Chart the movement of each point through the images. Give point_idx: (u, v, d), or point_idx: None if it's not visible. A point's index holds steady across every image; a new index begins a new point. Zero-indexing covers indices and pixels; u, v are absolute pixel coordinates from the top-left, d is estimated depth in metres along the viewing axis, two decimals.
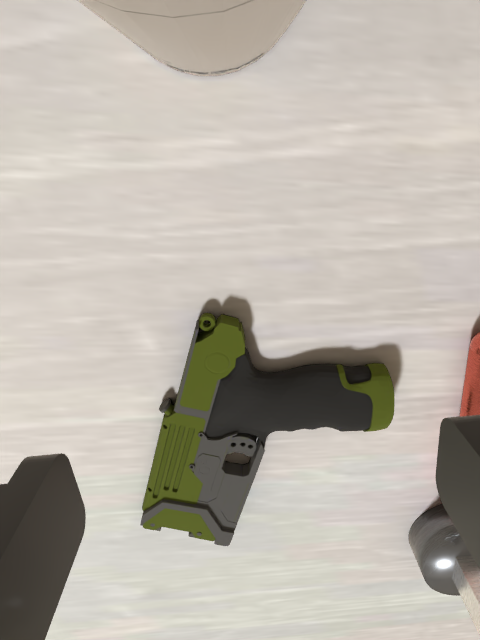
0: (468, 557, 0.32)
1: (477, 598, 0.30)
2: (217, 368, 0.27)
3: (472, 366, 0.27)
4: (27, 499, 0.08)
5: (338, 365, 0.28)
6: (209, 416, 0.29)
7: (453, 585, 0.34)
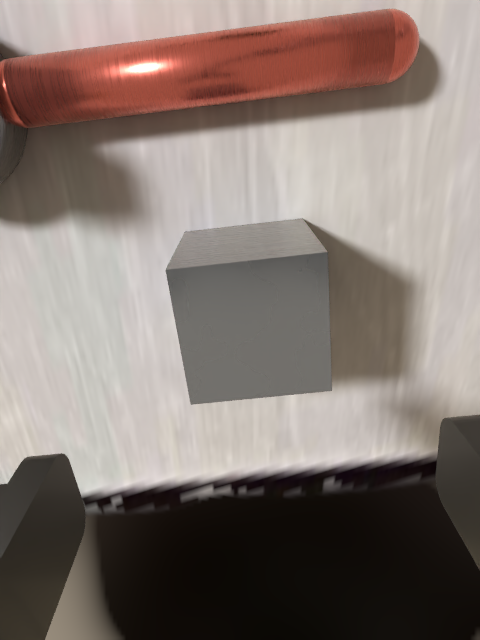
0: None
1: None
2: None
3: (359, 13, 0.16)
4: (27, 499, 0.08)
5: None
6: None
7: None
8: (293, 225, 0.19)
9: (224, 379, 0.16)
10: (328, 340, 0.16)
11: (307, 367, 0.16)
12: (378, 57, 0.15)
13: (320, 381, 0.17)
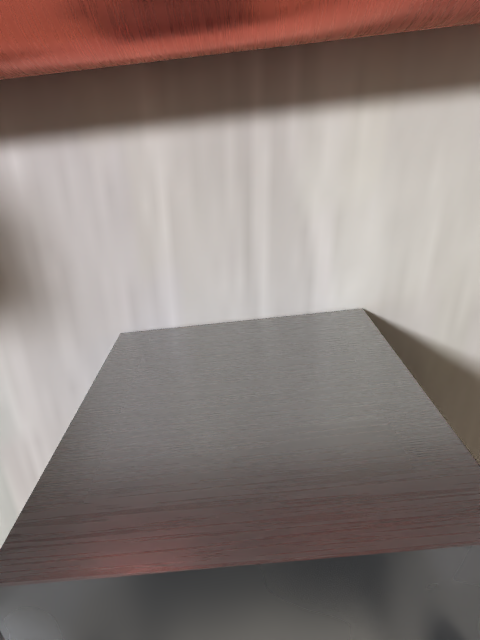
0: None
1: None
2: None
3: None
4: None
5: None
6: None
7: None
8: (351, 335, 0.09)
9: None
10: None
11: None
12: None
13: None
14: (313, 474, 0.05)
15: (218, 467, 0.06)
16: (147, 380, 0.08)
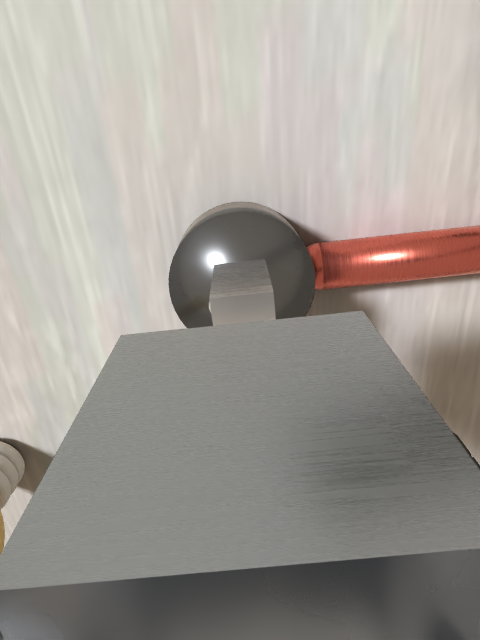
0: None
1: (270, 281, 0.17)
2: None
3: None
4: None
5: None
6: None
7: (193, 270, 0.20)
8: (351, 338, 0.09)
9: None
10: None
11: None
12: None
13: None
14: (314, 477, 0.05)
15: (219, 470, 0.06)
16: (148, 382, 0.08)
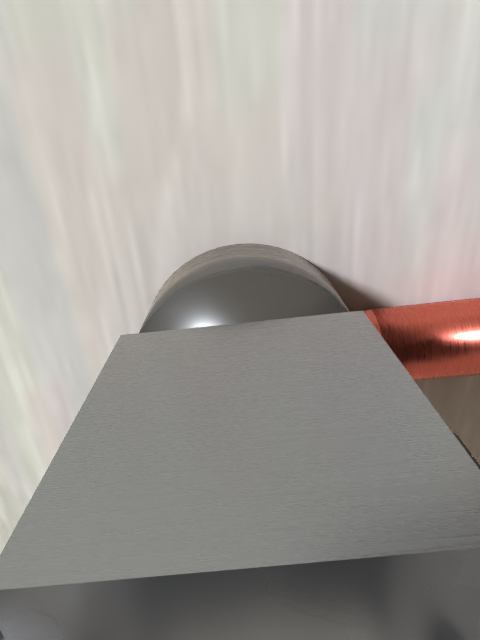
0: None
1: None
2: None
3: None
4: None
5: None
6: None
7: None
8: (351, 338, 0.09)
9: None
10: None
11: None
12: None
13: None
14: (313, 477, 0.05)
15: (219, 470, 0.06)
16: (148, 382, 0.08)
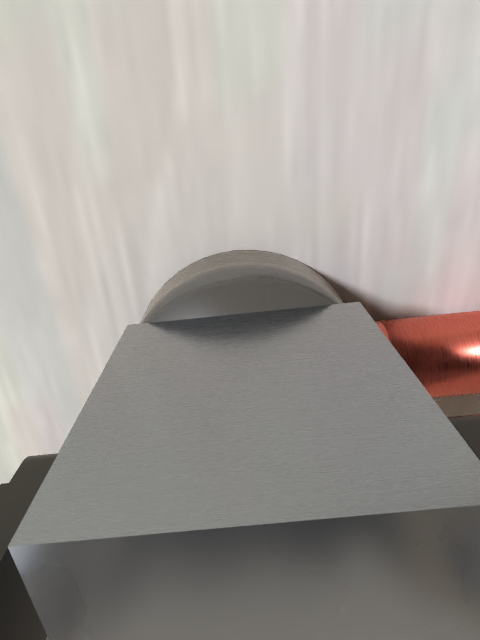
0: None
1: None
2: None
3: None
4: (29, 498, 0.08)
5: None
6: None
7: None
8: (348, 326, 0.09)
9: None
10: None
11: None
12: None
13: None
14: (312, 448, 0.06)
15: (224, 443, 0.06)
16: (155, 367, 0.08)
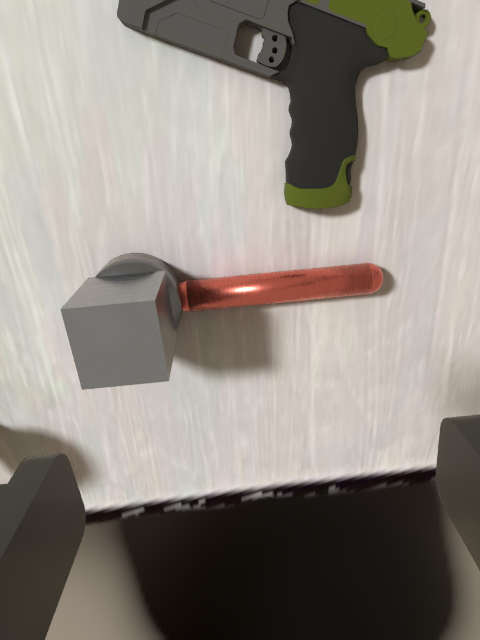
0: None
1: None
2: (378, 25, 0.27)
3: (355, 266, 0.33)
4: (27, 499, 0.08)
5: None
6: (318, 10, 0.27)
7: None
8: (155, 276, 0.30)
9: (101, 374, 0.27)
10: (162, 350, 0.27)
11: (151, 366, 0.27)
12: (364, 288, 0.33)
13: (160, 375, 0.27)
14: (125, 296, 0.26)
15: (107, 297, 0.26)
16: (94, 286, 0.29)
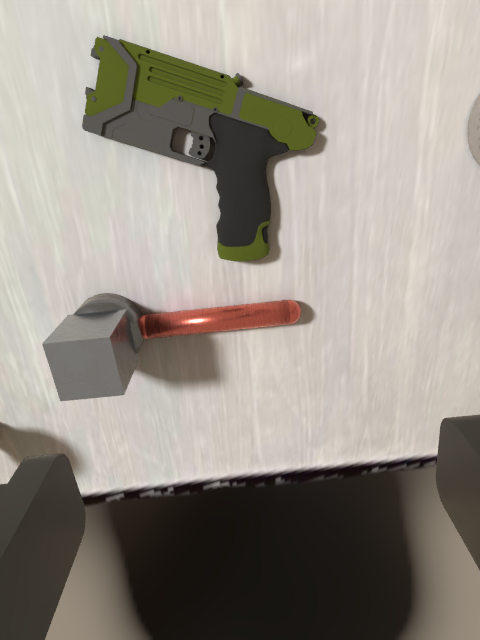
0: None
1: None
2: (278, 127, 0.36)
3: (277, 303, 0.42)
4: (27, 499, 0.08)
5: None
6: (231, 118, 0.36)
7: None
8: (116, 315, 0.39)
9: (74, 389, 0.37)
10: (117, 373, 0.36)
11: (110, 384, 0.36)
12: (284, 321, 0.42)
13: (117, 390, 0.37)
14: (90, 333, 0.36)
15: (77, 333, 0.36)
16: (70, 323, 0.38)
